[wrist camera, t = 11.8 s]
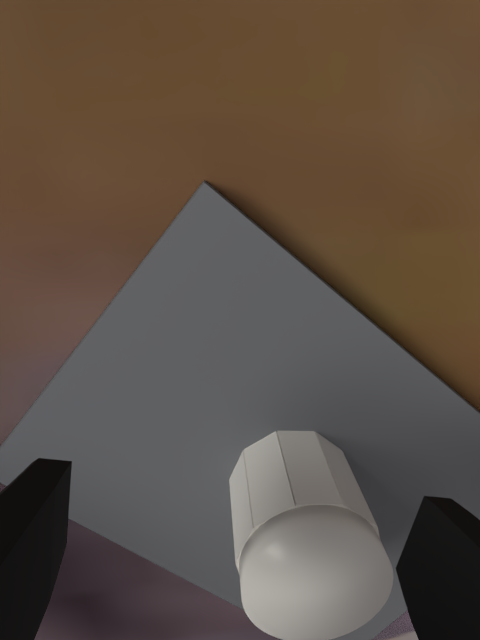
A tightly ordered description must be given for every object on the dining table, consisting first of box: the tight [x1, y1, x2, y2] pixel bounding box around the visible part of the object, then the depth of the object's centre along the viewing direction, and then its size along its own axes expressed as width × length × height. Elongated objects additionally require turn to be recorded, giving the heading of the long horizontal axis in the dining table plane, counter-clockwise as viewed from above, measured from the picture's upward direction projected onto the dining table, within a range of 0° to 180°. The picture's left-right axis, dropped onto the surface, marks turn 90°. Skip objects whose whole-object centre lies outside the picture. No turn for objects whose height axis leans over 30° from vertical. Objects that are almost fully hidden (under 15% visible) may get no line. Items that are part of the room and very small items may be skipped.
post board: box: [0, 180, 480, 640], centre depth 18 cm, size 20×14×5 cm
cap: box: [229, 431, 393, 640], centre depth 16 cm, size 5×5×5 cm
